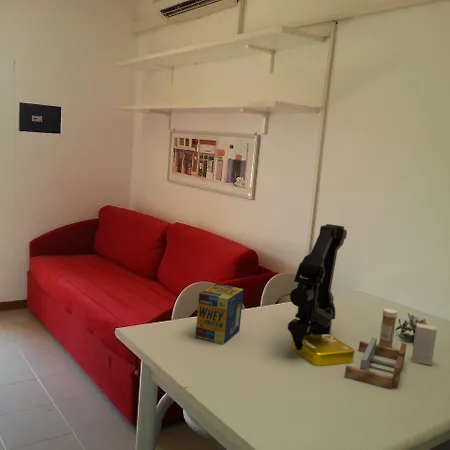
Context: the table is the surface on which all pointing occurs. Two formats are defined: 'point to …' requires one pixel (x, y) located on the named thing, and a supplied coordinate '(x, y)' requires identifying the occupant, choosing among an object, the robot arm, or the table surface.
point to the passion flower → (410, 324)
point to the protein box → (219, 313)
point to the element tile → (325, 350)
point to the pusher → (369, 355)
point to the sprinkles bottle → (387, 328)
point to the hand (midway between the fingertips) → (302, 345)
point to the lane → (376, 377)
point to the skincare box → (424, 344)
